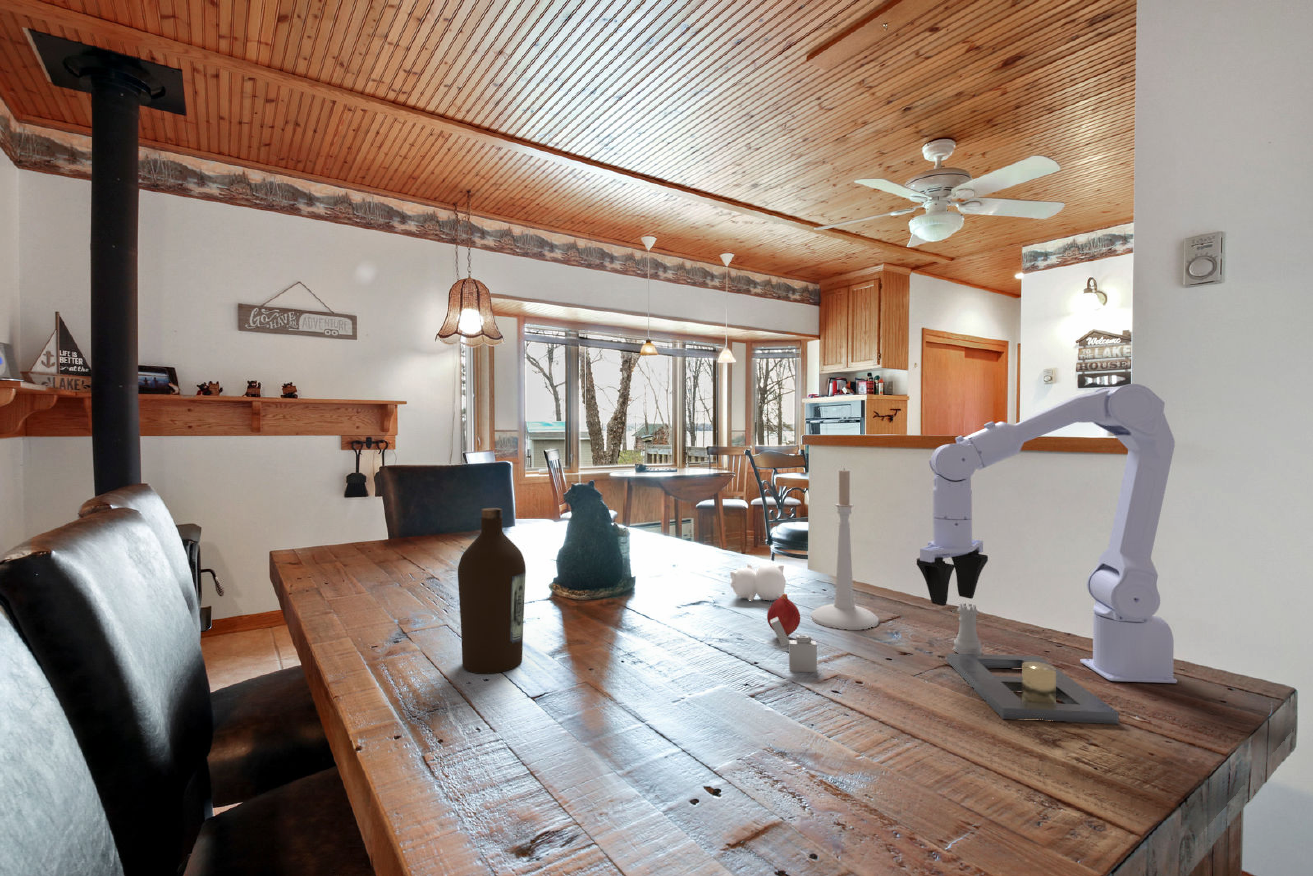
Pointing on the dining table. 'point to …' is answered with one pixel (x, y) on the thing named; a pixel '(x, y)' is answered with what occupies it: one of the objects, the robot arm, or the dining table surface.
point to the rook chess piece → (967, 631)
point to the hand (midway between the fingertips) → (952, 600)
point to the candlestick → (844, 575)
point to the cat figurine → (759, 582)
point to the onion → (784, 614)
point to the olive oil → (491, 599)
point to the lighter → (798, 649)
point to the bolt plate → (1031, 689)
